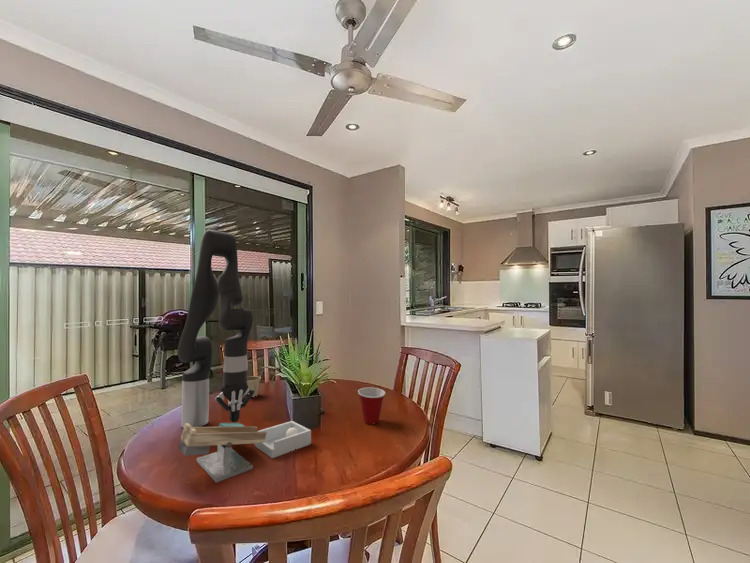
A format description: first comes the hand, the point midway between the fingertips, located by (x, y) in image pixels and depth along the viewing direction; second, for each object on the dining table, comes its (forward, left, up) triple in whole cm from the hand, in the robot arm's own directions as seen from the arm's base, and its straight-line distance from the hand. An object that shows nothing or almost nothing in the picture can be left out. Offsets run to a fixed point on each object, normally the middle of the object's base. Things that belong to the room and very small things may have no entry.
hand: (234, 421), depth 112 cm
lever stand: (+11, -7, -8) cm, 15 cm away
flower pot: (-49, +28, -8) cm, 57 cm away
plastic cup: (+17, +47, -8) cm, 50 cm away
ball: (+11, +15, -5) cm, 19 cm away
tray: (+11, +12, -8) cm, 18 cm away
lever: (+5, -8, -3) cm, 10 cm away
